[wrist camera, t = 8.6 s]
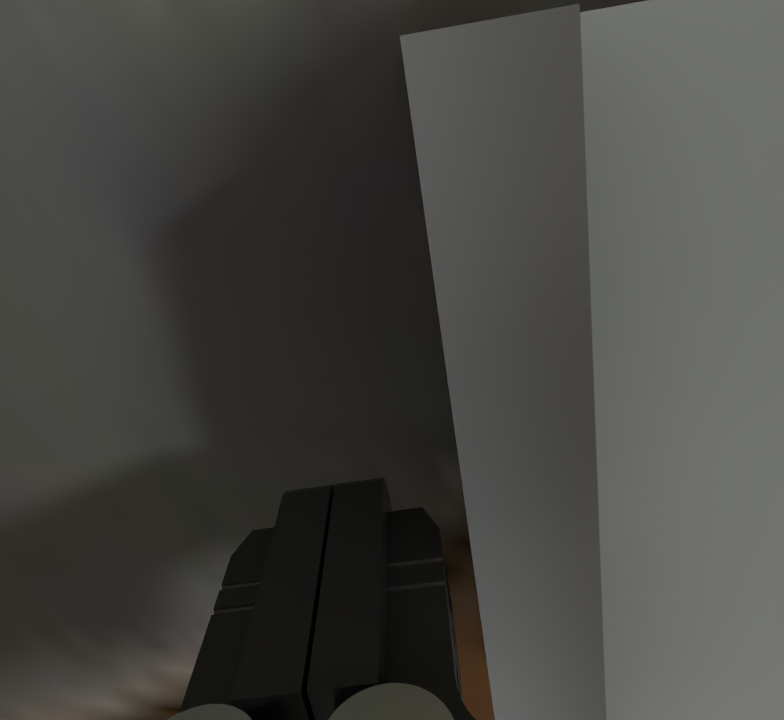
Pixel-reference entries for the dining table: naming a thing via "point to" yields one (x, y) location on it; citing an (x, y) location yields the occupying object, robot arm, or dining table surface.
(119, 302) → the dining table surface
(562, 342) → the grey flat bracket
